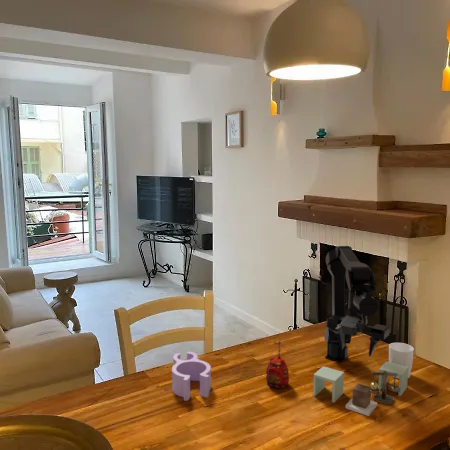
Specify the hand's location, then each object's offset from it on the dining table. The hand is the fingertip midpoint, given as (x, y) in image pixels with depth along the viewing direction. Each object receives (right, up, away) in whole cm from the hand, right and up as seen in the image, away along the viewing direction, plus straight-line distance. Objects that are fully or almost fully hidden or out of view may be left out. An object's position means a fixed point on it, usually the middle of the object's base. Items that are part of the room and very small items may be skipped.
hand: (355, 352), depth 145 cm
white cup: (+18, -11, +11) cm, 24 cm away
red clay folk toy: (-25, -12, +4) cm, 28 cm away
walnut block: (-1, -13, -10) cm, 16 cm away
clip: (-54, -12, +4) cm, 55 cm away
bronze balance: (+7, -13, -6) cm, 16 cm away
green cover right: (+12, -12, +1) cm, 17 cm away
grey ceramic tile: (-1, -14, -10) cm, 17 cm away
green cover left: (-9, -13, -2) cm, 16 cm away
